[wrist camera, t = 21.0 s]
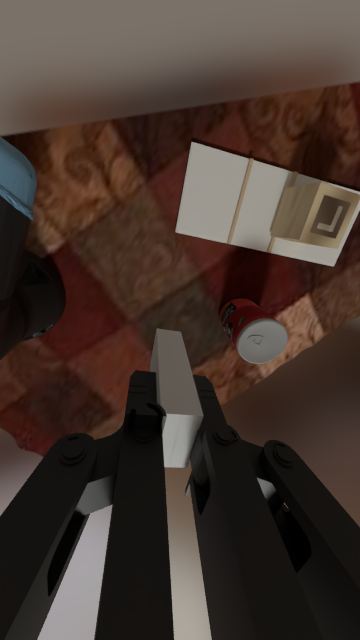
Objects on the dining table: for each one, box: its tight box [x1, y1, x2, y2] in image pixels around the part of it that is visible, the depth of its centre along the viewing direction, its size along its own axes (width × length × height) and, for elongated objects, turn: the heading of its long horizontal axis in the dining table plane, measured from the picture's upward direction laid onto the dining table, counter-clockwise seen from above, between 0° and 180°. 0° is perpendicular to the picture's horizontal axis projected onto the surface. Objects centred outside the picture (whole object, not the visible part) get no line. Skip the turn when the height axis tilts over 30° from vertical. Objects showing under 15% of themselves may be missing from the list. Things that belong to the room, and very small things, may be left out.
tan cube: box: [270, 182, 360, 249], centre depth 33 cm, size 7×7×7 cm
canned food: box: [219, 298, 288, 364], centre depth 38 cm, size 8×8×11 cm
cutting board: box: [175, 142, 360, 267], centre depth 36 cm, size 30×12×1 cm, turn 78°
